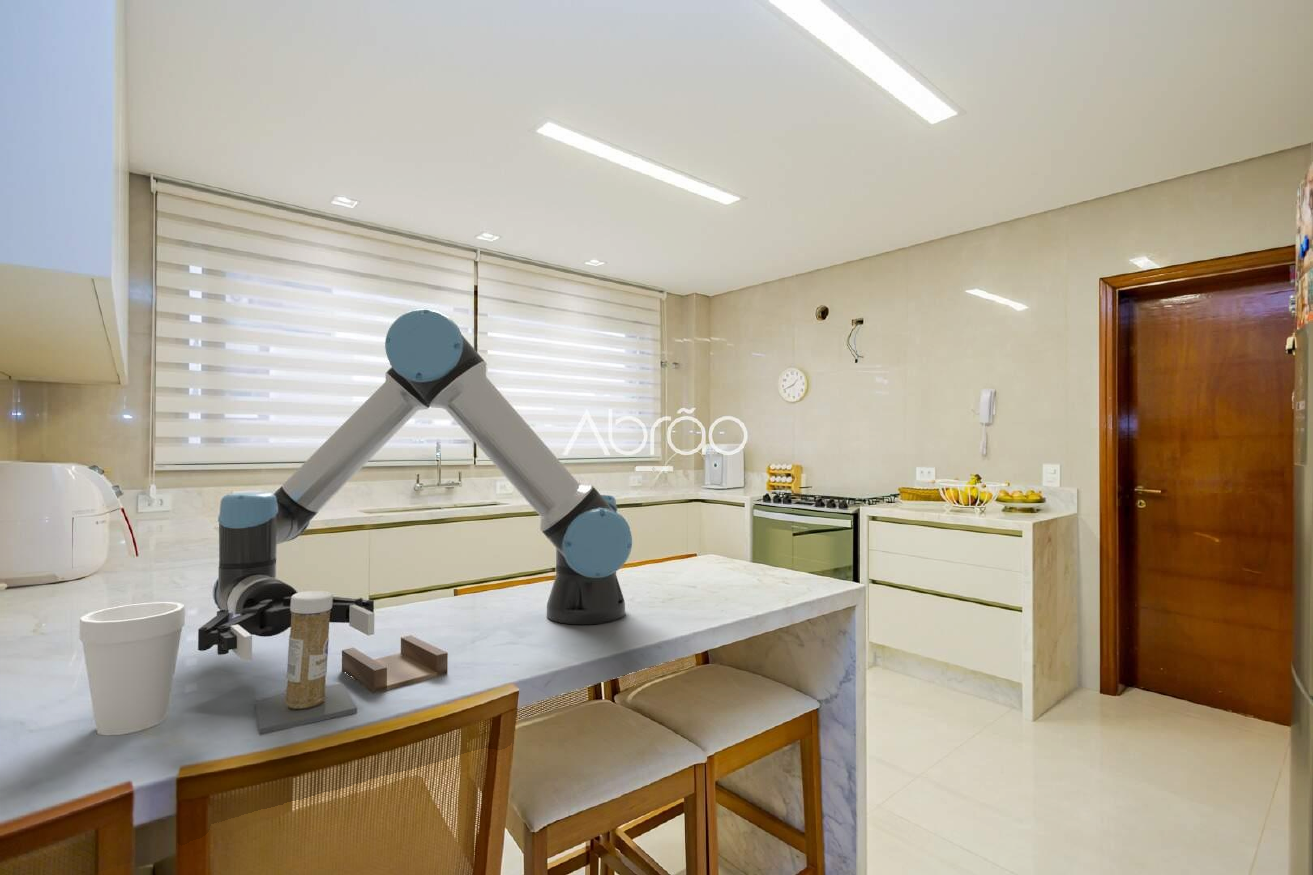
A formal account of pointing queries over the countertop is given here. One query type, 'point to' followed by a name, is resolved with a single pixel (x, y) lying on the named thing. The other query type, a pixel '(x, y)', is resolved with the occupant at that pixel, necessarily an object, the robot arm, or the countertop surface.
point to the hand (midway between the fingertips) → (313, 635)
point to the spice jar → (308, 649)
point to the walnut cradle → (396, 665)
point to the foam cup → (131, 663)
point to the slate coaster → (303, 710)
